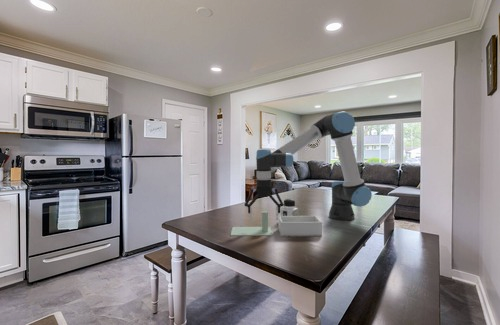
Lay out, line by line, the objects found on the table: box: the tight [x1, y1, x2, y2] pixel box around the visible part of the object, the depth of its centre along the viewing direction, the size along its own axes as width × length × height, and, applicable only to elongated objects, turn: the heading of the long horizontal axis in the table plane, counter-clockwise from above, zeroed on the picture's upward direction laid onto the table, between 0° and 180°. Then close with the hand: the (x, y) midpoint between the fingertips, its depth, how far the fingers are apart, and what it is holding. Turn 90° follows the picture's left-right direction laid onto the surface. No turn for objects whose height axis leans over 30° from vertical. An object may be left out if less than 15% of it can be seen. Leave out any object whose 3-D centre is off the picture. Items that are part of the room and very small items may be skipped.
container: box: [280, 198, 299, 216], centre depth 146 cm, size 8×8×13 cm
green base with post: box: [229, 210, 273, 237], centre depth 128 cm, size 21×13×11 cm, turn 90°
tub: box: [278, 215, 323, 238], centre depth 125 cm, size 20×12×7 cm, turn 89°
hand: (264, 219), depth 127 cm, fingers open, 13 cm apart
